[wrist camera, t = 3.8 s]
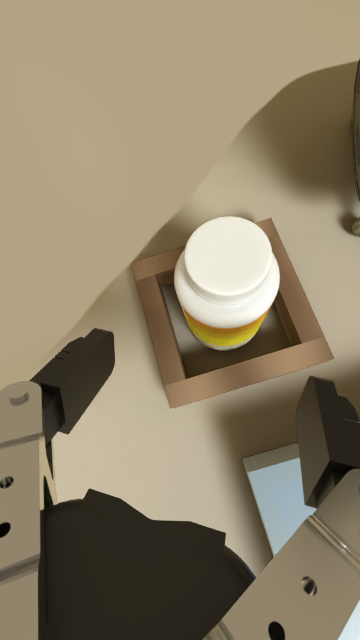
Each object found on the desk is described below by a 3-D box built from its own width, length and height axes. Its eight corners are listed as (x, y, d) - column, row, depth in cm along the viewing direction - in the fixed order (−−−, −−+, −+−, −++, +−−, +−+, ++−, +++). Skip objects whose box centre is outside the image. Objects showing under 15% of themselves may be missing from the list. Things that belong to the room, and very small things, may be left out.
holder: (265, 235, 24) (270, 217, 22) (320, 363, 21) (334, 358, 19) (139, 276, 25) (131, 263, 22) (175, 407, 21) (170, 408, 19)
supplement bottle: (270, 340, 22) (312, 292, 12) (198, 360, 22) (183, 329, 12) (246, 275, 23) (266, 185, 14) (180, 294, 24) (153, 220, 14)
